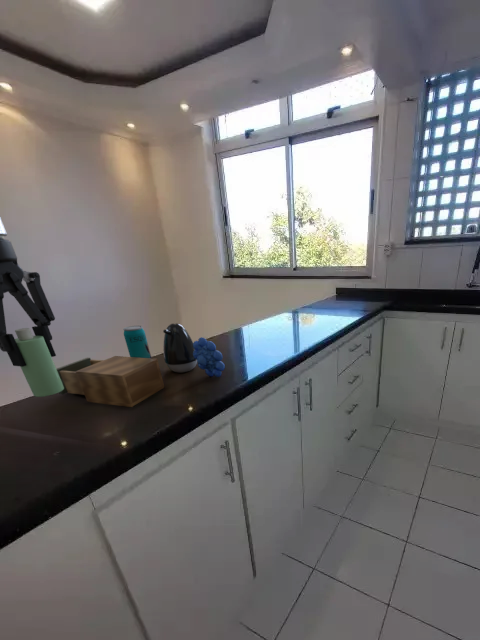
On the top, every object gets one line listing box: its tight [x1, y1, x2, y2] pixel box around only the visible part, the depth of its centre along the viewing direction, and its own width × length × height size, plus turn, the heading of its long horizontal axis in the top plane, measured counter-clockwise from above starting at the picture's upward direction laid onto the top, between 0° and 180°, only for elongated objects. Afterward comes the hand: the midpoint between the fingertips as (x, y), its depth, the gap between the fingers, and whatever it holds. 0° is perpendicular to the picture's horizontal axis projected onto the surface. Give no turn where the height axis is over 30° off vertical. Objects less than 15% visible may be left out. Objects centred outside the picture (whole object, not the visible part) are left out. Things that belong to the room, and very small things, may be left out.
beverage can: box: [123, 325, 153, 359], centre depth 96 cm, size 6×6×15 cm
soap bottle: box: [14, 327, 64, 398], centre depth 66 cm, size 6×6×14 cm
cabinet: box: [76, 355, 165, 408], centre depth 83 cm, size 15×13×9 cm
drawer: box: [56, 357, 103, 396], centre depth 87 cm, size 18×11×7 cm, turn 73°
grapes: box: [193, 337, 226, 378], centre depth 92 cm, size 12×7×12 cm, turn 61°
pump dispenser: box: [162, 322, 198, 374], centre depth 98 cm, size 10×10×15 cm
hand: (35, 360), depth 66 cm, fingers closed on soap bottle, 6 cm apart
